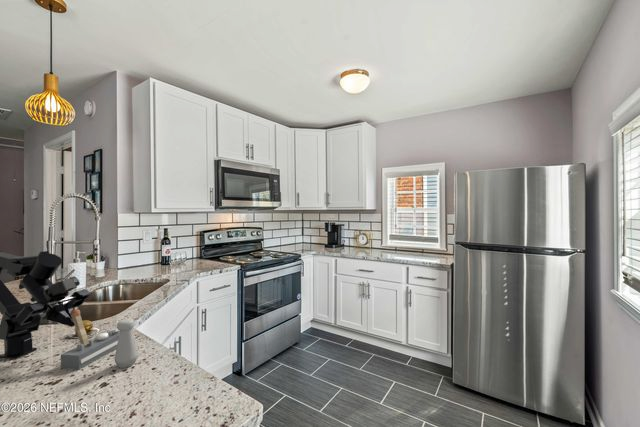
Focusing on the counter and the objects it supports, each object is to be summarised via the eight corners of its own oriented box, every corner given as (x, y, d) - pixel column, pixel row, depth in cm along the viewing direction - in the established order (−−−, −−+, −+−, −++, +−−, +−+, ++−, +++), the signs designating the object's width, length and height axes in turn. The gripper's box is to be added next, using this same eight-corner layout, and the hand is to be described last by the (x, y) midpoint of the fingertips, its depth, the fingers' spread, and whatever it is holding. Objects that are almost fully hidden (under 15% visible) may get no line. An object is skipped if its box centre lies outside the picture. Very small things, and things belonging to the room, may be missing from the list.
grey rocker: (107, 333, 102) (107, 331, 102) (111, 331, 103) (111, 329, 103) (115, 332, 101) (115, 329, 101) (120, 329, 103) (119, 327, 103)
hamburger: (108, 334, 114) (108, 319, 114) (67, 345, 105) (67, 329, 105) (99, 327, 122) (99, 313, 122) (60, 336, 113) (60, 321, 113)
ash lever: (78, 347, 91) (67, 311, 91) (85, 344, 93) (74, 309, 94) (85, 345, 91) (73, 309, 91) (92, 341, 93) (81, 307, 93)
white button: (93, 340, 97) (93, 336, 96) (102, 336, 100) (102, 332, 100) (102, 340, 96) (102, 336, 96) (110, 336, 99) (110, 332, 99)
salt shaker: (126, 370, 86) (125, 324, 85) (109, 368, 87) (108, 323, 87) (142, 360, 91) (141, 317, 91) (126, 359, 92) (125, 316, 92)
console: (60, 368, 87) (60, 349, 87) (112, 342, 105) (111, 325, 105) (79, 369, 87) (79, 350, 87) (128, 342, 104) (127, 326, 104)
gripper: (23, 276, 84) (59, 317, 82) (85, 265, 102) (115, 298, 101) (0, 304, 85) (35, 345, 83) (65, 288, 103) (94, 321, 102)
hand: (74, 325), depth 92 cm, fingers closed
